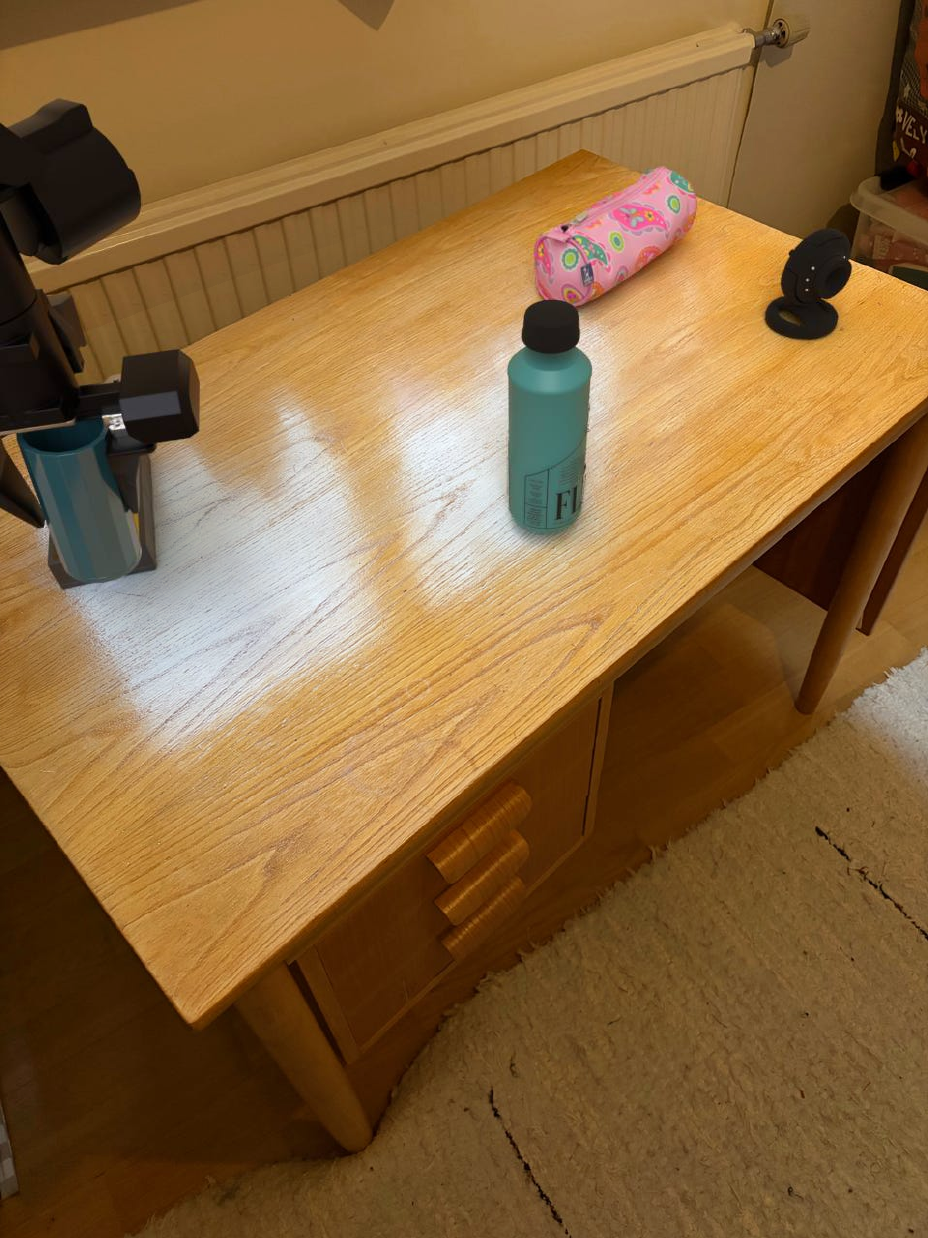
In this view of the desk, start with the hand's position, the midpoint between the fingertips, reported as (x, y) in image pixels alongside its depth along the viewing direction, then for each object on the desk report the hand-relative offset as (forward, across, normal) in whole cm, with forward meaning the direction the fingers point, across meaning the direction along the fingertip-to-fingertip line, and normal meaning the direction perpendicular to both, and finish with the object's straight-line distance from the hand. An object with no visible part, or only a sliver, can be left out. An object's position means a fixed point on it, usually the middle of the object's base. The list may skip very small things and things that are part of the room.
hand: (89, 516), depth 59 cm
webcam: (+14, -68, -30) cm, 75 cm away
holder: (+13, +4, -15) cm, 20 cm away
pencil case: (+14, -51, -45) cm, 69 cm away
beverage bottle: (+14, -33, -6) cm, 36 cm away
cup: (+4, 0, 0) cm, 4 cm away
